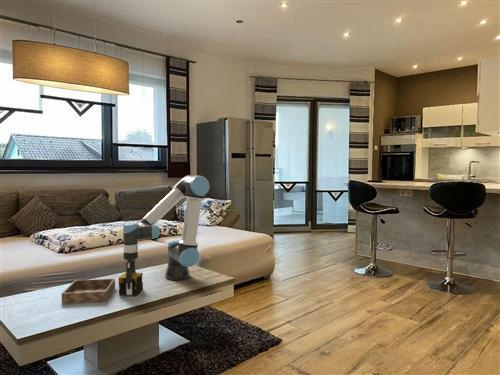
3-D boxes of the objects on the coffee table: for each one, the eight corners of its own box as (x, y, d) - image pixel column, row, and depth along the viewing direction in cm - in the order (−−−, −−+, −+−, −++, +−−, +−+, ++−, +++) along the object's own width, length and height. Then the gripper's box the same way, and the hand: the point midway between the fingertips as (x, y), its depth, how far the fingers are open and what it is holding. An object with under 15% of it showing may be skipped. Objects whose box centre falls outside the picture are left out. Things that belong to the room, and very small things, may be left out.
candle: (143, 289, 211) (143, 272, 211) (136, 296, 201) (136, 278, 201) (125, 289, 212) (125, 271, 212) (118, 295, 202) (118, 277, 202)
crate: (115, 288, 214) (115, 278, 214) (106, 302, 193) (106, 291, 192) (75, 289, 211) (75, 280, 210) (61, 304, 189) (61, 293, 189)
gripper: (127, 246, 216) (127, 284, 218) (119, 257, 193) (119, 298, 195) (140, 246, 217) (141, 283, 219) (134, 256, 194) (134, 298, 196)
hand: (131, 290), depth 207 cm, fingers closed on candle, 11 cm apart
